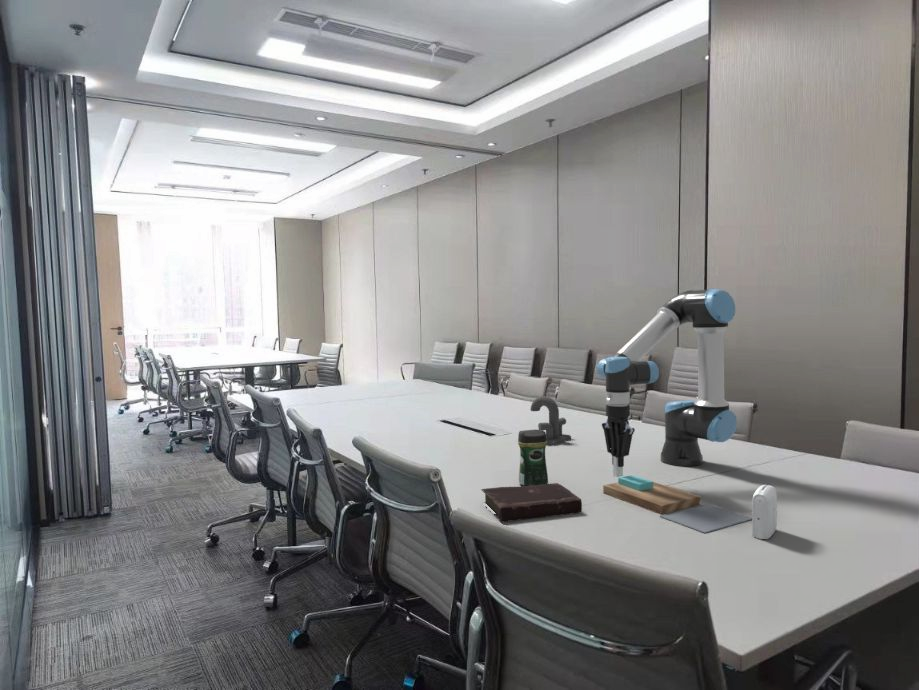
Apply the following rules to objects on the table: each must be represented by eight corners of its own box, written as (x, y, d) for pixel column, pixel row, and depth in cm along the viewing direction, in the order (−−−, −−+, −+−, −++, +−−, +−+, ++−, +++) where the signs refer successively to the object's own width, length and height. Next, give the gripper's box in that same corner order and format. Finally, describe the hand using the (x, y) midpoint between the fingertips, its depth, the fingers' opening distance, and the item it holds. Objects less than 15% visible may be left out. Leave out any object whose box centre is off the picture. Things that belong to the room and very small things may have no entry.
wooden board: (639, 485, 199) (639, 477, 199) (700, 504, 178) (700, 496, 178) (603, 493, 192) (603, 485, 192) (661, 514, 171) (661, 505, 171)
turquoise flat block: (632, 481, 196) (632, 475, 195) (653, 487, 188) (653, 481, 188) (618, 484, 193) (618, 477, 193) (639, 491, 185) (639, 484, 185)
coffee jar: (542, 480, 208) (542, 426, 207) (550, 486, 200) (550, 431, 199) (515, 482, 206) (515, 428, 205) (522, 488, 198) (522, 433, 197)
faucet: (540, 434, 283) (540, 392, 282) (571, 438, 274) (571, 394, 273) (521, 442, 269) (520, 397, 268) (553, 446, 260) (552, 400, 258)
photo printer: (768, 541, 150) (769, 492, 149) (750, 537, 152) (750, 489, 152) (778, 529, 158) (779, 483, 157) (760, 526, 160) (761, 480, 160)
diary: (582, 515, 174) (582, 498, 173) (500, 525, 167) (500, 507, 167) (555, 496, 191) (555, 480, 191) (480, 504, 185) (480, 488, 185)
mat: (707, 504, 179) (707, 503, 178) (753, 519, 165) (753, 518, 165) (659, 516, 169) (659, 515, 169) (704, 533, 156) (704, 532, 156)
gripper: (595, 403, 199) (595, 473, 201) (623, 408, 188) (623, 482, 189) (612, 401, 203) (612, 469, 204) (641, 405, 192) (641, 478, 193)
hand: (618, 475), depth 197 cm, fingers closed
